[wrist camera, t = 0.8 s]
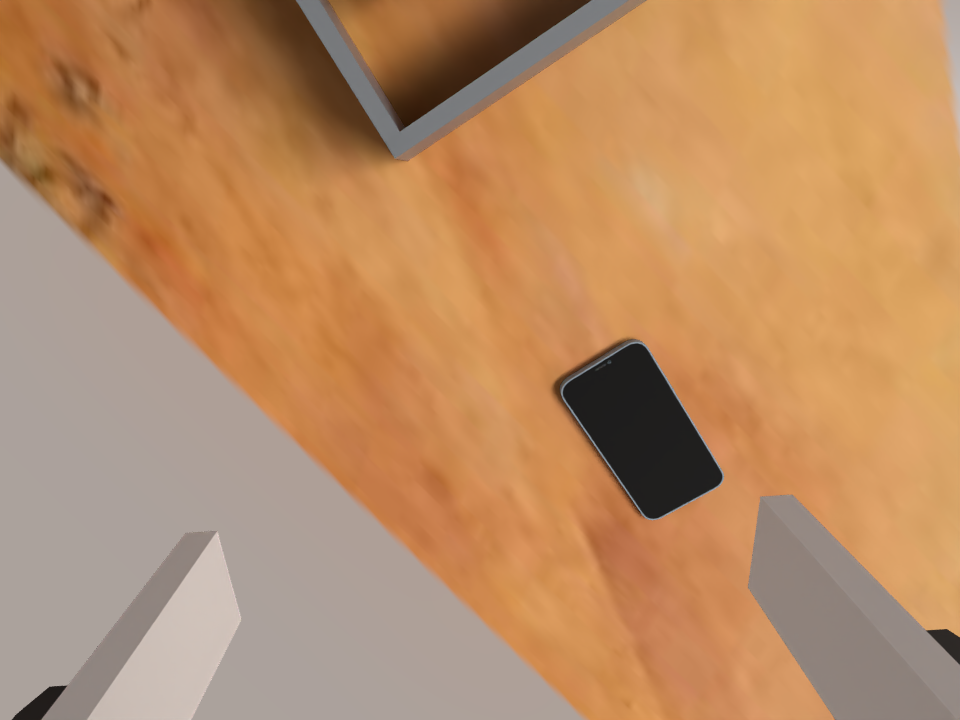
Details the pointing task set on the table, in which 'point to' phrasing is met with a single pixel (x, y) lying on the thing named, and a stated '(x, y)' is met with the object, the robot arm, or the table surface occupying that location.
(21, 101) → the table surface
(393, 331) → the table surface
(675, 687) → the table surface
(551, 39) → the case
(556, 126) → the table surface
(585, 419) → the smartphone
